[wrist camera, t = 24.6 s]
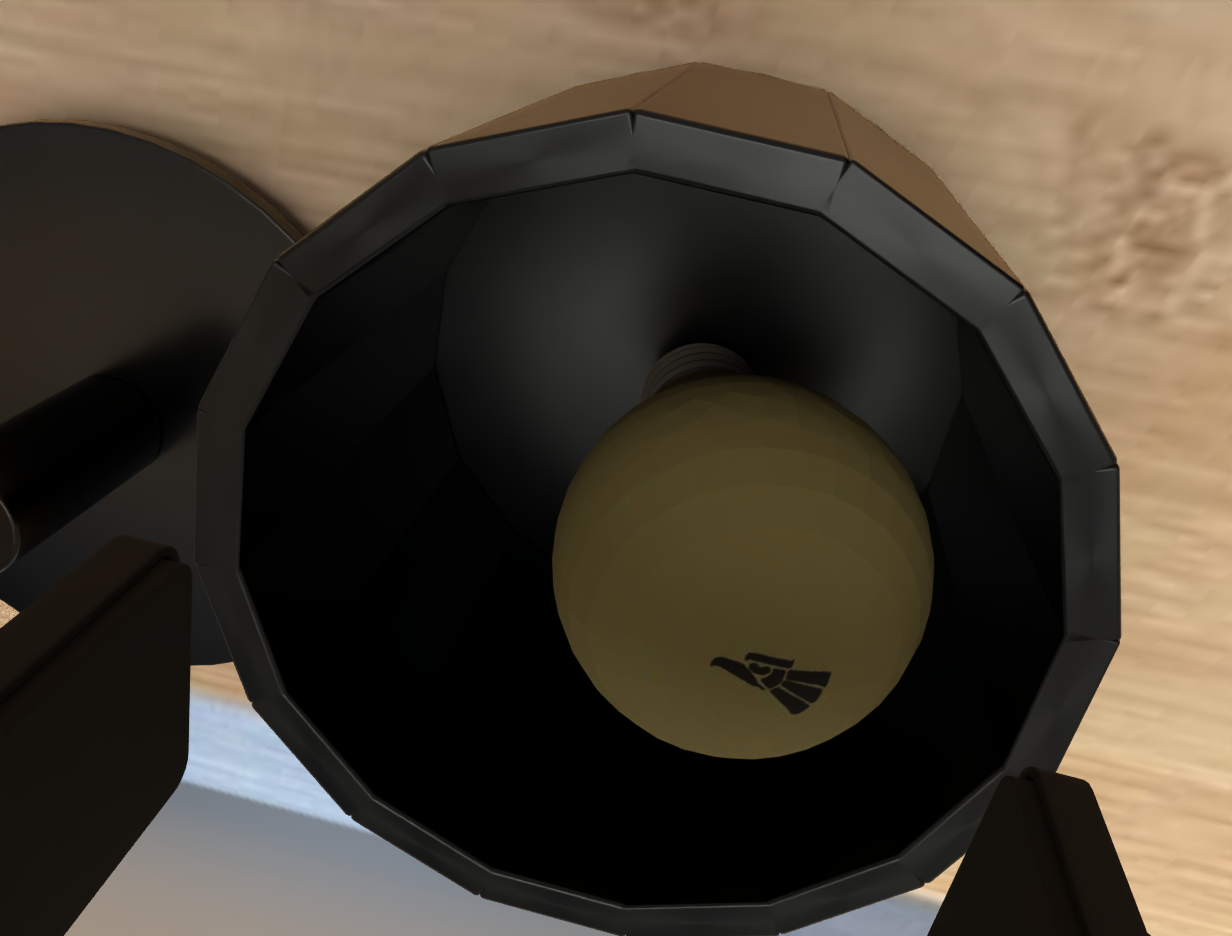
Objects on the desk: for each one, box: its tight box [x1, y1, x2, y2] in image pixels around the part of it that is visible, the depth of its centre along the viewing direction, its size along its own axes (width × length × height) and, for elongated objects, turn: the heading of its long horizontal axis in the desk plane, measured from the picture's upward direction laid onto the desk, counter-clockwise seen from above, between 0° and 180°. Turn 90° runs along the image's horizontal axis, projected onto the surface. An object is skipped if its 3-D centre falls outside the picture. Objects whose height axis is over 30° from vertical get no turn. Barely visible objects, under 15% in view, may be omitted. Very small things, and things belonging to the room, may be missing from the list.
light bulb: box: [552, 343, 934, 759], centre depth 18 cm, size 6×6×10 cm
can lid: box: [0, 119, 304, 665], centre depth 22 cm, size 13×13×6 cm
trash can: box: [194, 62, 1121, 936], centre depth 18 cm, size 12×12×10 cm
